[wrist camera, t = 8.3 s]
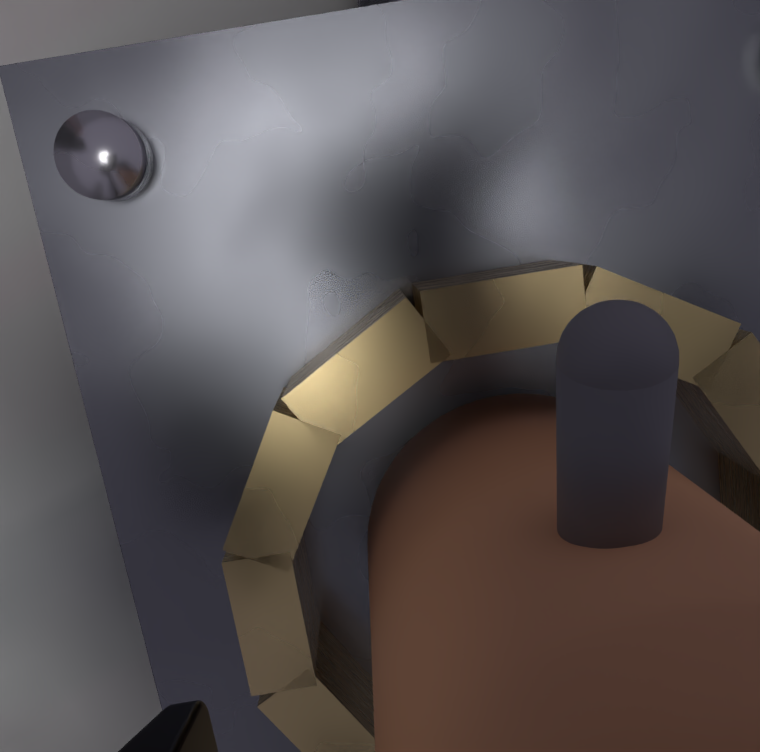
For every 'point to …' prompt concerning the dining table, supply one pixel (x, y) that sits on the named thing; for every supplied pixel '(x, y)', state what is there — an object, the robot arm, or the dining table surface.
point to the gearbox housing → (373, 289)
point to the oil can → (564, 569)
